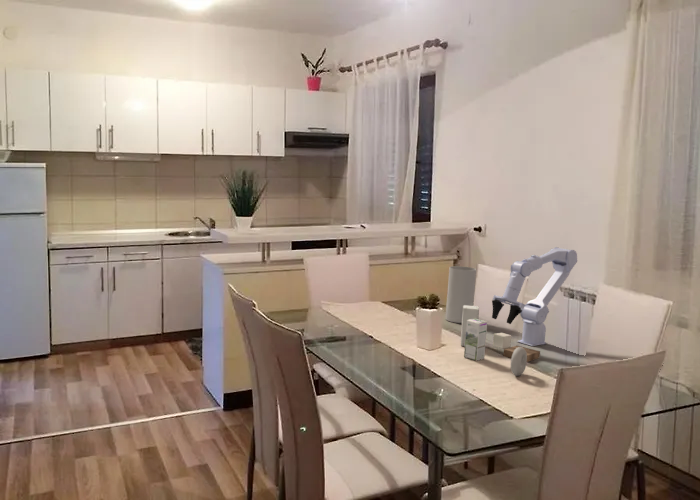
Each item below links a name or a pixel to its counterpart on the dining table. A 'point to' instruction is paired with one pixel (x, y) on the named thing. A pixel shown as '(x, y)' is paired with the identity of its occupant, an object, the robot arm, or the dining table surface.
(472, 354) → the syrup box
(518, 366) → the donut
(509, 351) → the slab
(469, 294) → the cylinder vase
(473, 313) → the skincare box
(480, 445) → the dining table surface
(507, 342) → the cube
